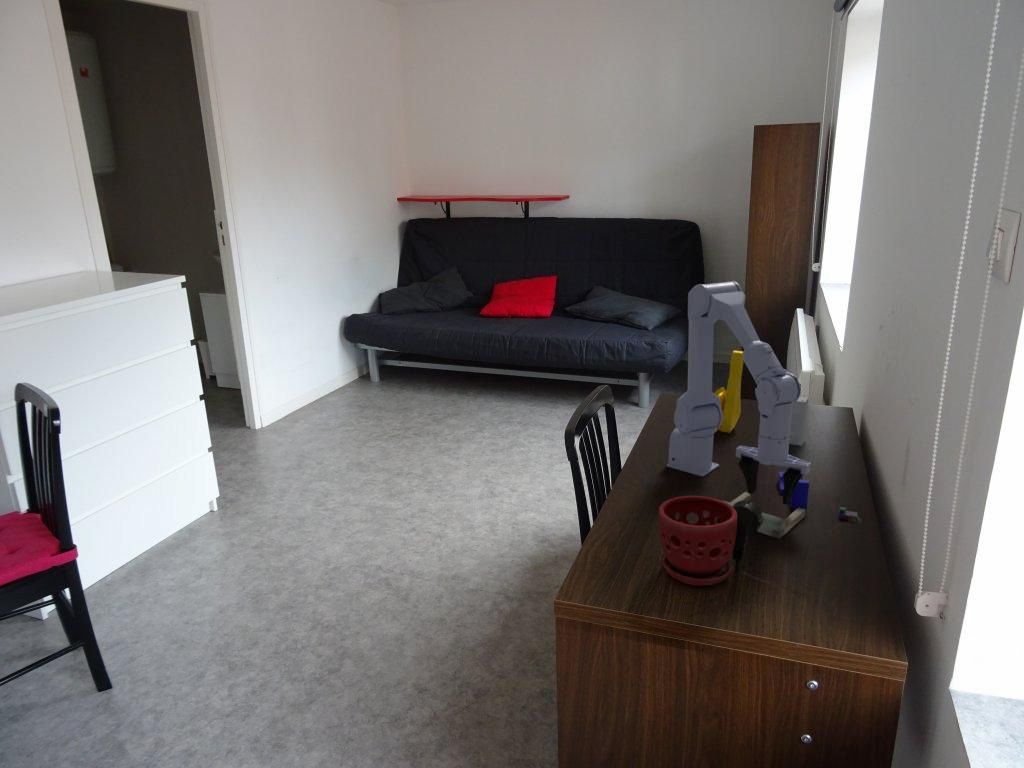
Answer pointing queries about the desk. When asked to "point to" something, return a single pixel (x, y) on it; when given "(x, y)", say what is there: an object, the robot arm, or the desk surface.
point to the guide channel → (774, 519)
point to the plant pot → (697, 539)
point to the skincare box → (798, 421)
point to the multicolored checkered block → (849, 515)
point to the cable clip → (796, 492)
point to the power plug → (745, 527)
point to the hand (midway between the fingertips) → (769, 497)
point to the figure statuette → (731, 394)
